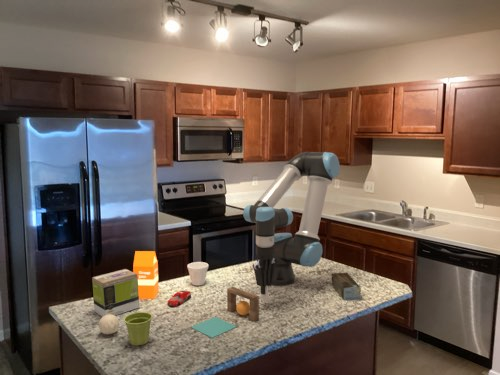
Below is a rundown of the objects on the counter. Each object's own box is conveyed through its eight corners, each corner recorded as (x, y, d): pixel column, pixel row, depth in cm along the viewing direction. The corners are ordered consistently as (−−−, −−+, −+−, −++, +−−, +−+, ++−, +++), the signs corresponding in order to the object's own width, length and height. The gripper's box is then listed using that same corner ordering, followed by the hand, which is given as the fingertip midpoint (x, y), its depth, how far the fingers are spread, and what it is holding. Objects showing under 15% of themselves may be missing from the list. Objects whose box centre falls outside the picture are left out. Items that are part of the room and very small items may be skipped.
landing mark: (215, 317, 164) (215, 316, 164) (236, 326, 156) (236, 326, 156) (190, 327, 155) (190, 326, 155) (212, 338, 147) (212, 337, 147)
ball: (238, 315, 168) (245, 302, 170) (248, 319, 164) (255, 306, 167) (231, 309, 165) (237, 296, 167) (241, 313, 161) (247, 300, 163)
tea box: (127, 301, 180) (126, 267, 178) (139, 308, 173) (138, 273, 171) (93, 311, 169) (91, 276, 168) (104, 319, 162) (103, 282, 160)
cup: (183, 286, 198) (183, 266, 197) (193, 279, 207) (193, 261, 206) (203, 288, 195) (202, 269, 193) (212, 281, 204) (212, 263, 203)
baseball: (103, 340, 146) (102, 321, 145) (96, 332, 152) (96, 314, 151) (122, 334, 150) (121, 316, 149) (115, 327, 156) (114, 309, 155)
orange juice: (139, 292, 191) (137, 248, 188) (158, 292, 190) (157, 248, 188) (134, 298, 183) (132, 253, 180) (154, 298, 183) (152, 253, 180)
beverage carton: (342, 301, 180) (343, 286, 179) (330, 285, 199) (330, 272, 198) (361, 300, 181) (361, 285, 180) (347, 285, 200) (347, 271, 199)
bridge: (232, 308, 172) (232, 286, 171) (258, 319, 162) (258, 295, 161) (227, 310, 170) (227, 288, 169) (253, 321, 160) (253, 298, 159)
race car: (175, 309, 173) (175, 299, 172) (164, 306, 175) (164, 297, 174) (193, 297, 184) (193, 289, 184) (183, 295, 187) (182, 287, 186)
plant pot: (118, 345, 142) (117, 321, 141) (136, 333, 151) (135, 310, 150) (142, 350, 139) (141, 325, 137) (158, 338, 147) (157, 314, 146)
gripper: (261, 250, 165) (261, 307, 168) (282, 243, 174) (282, 298, 177) (247, 246, 170) (247, 302, 173) (268, 240, 179) (268, 294, 182)
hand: (265, 300), depth 175 cm, fingers closed
